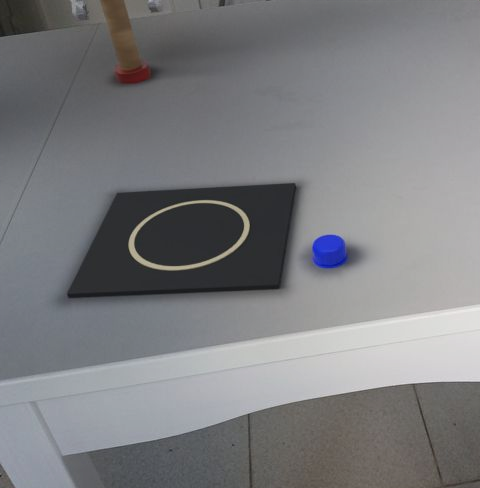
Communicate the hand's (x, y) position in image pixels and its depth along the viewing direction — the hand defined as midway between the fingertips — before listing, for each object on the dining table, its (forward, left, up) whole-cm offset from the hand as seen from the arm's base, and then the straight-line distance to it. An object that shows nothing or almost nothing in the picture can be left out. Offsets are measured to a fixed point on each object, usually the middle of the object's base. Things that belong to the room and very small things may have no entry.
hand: (118, 14), depth 91 cm
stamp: (0, -1, -8) cm, 8 cm away
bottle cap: (+28, -43, -8) cm, 52 cm away
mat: (+15, -39, -8) cm, 42 cm away
